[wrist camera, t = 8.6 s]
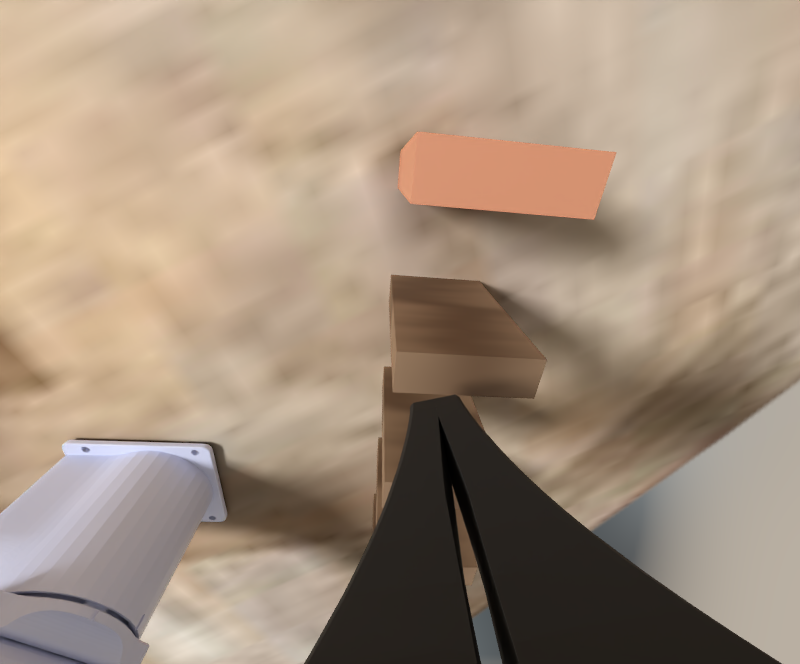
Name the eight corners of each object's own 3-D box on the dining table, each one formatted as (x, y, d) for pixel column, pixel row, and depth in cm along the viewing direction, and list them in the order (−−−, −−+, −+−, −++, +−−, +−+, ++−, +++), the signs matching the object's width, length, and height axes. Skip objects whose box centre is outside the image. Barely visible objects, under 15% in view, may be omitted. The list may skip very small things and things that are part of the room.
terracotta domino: (397, 188, 16) (410, 203, 8) (400, 150, 15) (417, 131, 8) (496, 196, 16) (594, 219, 9) (503, 161, 16) (616, 152, 8)
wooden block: (382, 387, 21) (381, 508, 14) (384, 366, 21) (384, 481, 13) (457, 390, 22) (496, 509, 14) (461, 370, 21) (505, 484, 13)
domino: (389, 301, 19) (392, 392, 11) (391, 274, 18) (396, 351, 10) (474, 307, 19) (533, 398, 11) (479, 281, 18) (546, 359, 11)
